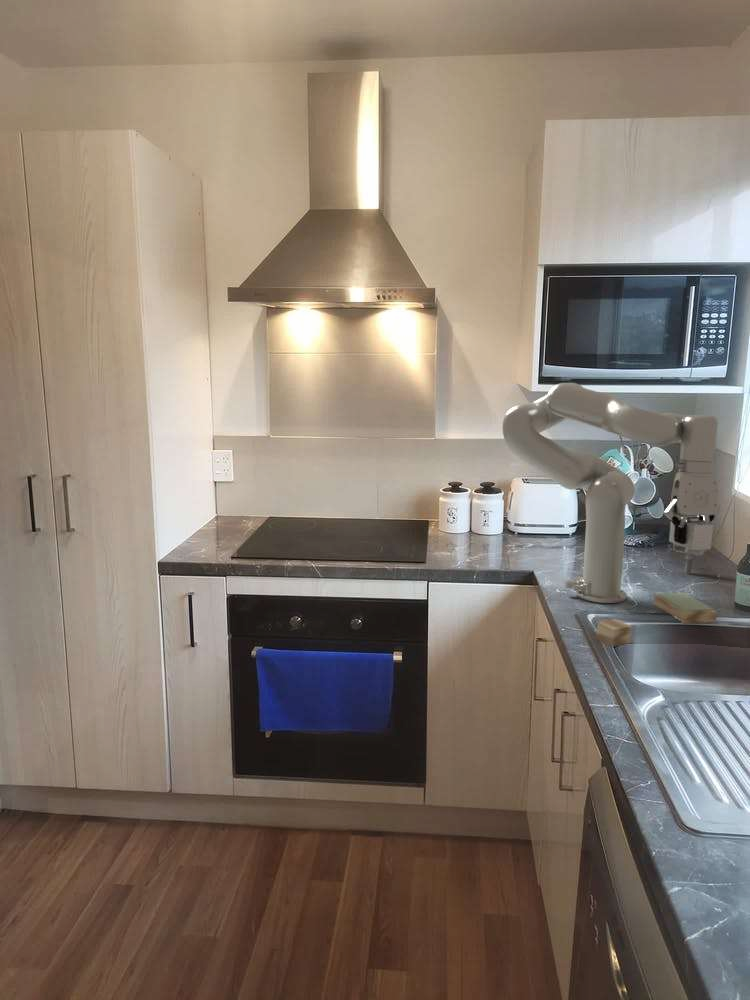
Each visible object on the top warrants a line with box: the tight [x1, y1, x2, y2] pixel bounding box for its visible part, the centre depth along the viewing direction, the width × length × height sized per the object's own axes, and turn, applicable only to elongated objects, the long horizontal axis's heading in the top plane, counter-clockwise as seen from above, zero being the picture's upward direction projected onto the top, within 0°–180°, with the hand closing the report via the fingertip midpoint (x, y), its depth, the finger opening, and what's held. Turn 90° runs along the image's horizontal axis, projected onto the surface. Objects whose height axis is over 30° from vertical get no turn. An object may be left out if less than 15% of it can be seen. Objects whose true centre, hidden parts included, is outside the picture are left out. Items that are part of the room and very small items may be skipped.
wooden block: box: [653, 592, 718, 624], centre depth 174 cm, size 8×14×3 cm, turn 6°
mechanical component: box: [670, 542, 708, 575], centre depth 206 cm, size 3×10×10 cm, turn 51°
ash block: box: [595, 618, 633, 648], centre depth 155 cm, size 5×5×4 cm
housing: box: [668, 516, 714, 550], centre depth 172 cm, size 9×5×7 cm, turn 12°
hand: (689, 541), depth 173 cm, fingers closed on housing, 5 cm apart
